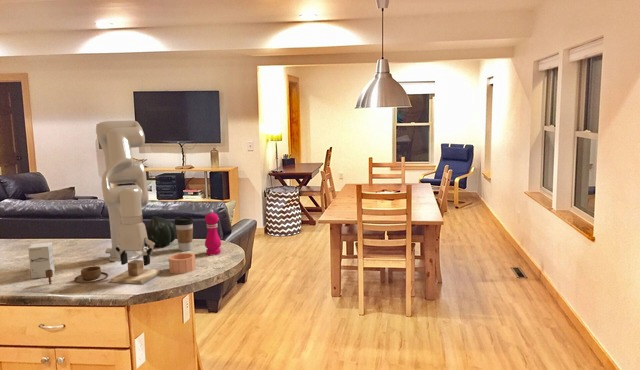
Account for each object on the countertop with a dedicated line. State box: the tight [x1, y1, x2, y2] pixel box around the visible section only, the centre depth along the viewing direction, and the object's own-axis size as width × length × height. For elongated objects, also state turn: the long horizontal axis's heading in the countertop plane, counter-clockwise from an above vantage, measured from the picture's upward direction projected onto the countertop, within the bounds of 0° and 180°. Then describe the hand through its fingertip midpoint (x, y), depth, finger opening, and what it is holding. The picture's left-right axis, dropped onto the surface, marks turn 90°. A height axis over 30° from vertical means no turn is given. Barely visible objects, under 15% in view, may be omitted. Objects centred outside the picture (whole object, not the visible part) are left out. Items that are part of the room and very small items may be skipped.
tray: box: [106, 271, 165, 286], centre depth 195 cm, size 15×15×1 cm
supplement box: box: [27, 241, 56, 280], centre depth 201 cm, size 7×7×13 cm
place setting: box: [45, 265, 109, 286], centre depth 196 cm, size 18×20×6 cm
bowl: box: [168, 252, 196, 275], centre depth 203 cm, size 10×10×6 cm
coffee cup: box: [174, 216, 194, 252], centre depth 235 cm, size 8×8×15 cm
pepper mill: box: [204, 209, 222, 256], centre depth 227 cm, size 7×7×20 cm
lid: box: [110, 259, 162, 284], centre depth 195 cm, size 13×13×6 cm
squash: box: [145, 216, 177, 247], centre depth 245 cm, size 14×15×15 cm
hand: (135, 264), depth 194 cm, fingers open, 9 cm apart
